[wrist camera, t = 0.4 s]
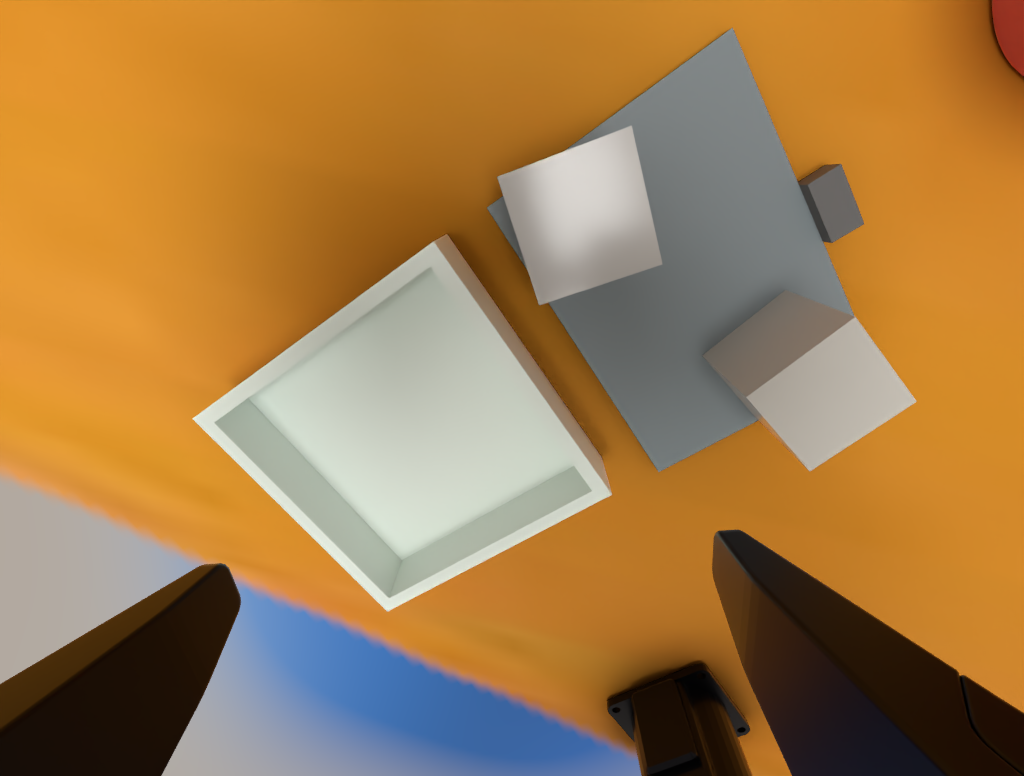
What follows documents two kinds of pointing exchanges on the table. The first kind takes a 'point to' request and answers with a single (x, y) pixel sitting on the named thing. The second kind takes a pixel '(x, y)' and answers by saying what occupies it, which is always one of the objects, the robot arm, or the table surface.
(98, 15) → the table surface
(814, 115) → the table surface
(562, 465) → the tray
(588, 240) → the grey cube
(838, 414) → the light grey cube
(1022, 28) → the flower pot
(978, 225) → the table surface
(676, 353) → the lid board
